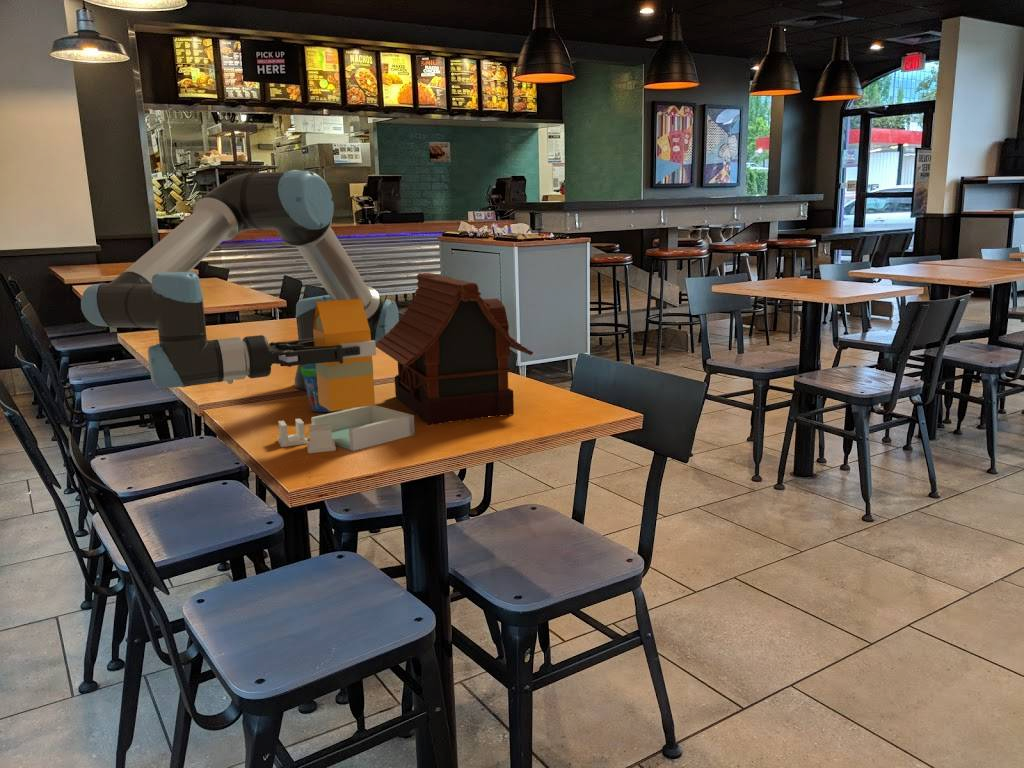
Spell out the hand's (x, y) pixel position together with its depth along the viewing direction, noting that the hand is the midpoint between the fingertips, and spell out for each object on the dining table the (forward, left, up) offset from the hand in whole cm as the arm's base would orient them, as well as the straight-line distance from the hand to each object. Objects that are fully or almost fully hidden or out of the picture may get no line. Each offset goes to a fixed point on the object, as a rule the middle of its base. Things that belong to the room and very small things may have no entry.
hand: (367, 344), depth 149 cm
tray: (+2, -2, -18) cm, 18 cm away
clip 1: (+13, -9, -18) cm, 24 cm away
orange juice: (+5, -1, -11) cm, 12 cm away
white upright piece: (+11, -1, -18) cm, 21 cm away
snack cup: (-6, -27, -19) cm, 33 cm away
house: (-27, -9, -19) cm, 34 cm away
